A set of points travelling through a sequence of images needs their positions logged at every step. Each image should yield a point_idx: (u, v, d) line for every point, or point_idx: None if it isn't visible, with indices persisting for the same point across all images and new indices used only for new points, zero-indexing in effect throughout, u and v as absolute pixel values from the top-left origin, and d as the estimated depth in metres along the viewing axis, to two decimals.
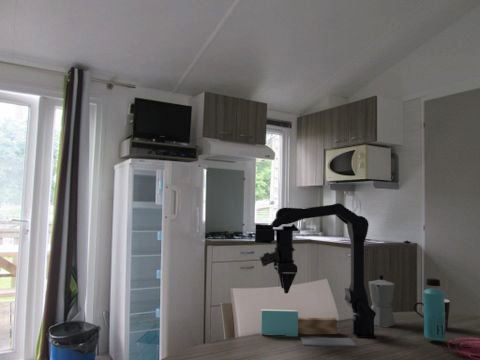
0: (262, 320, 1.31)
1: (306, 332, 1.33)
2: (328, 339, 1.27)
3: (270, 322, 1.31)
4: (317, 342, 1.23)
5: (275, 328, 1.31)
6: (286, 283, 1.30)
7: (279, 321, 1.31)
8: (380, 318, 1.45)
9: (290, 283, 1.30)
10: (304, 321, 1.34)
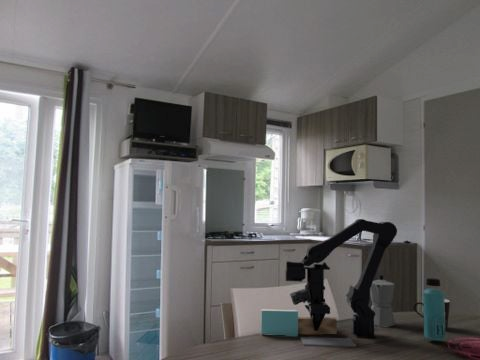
0: (262, 320, 1.31)
1: (306, 332, 1.33)
2: (328, 339, 1.27)
3: (270, 322, 1.31)
4: (317, 342, 1.23)
5: (275, 328, 1.31)
6: (316, 321, 1.33)
7: (279, 321, 1.31)
8: (380, 318, 1.45)
9: (320, 321, 1.32)
10: (304, 321, 1.34)
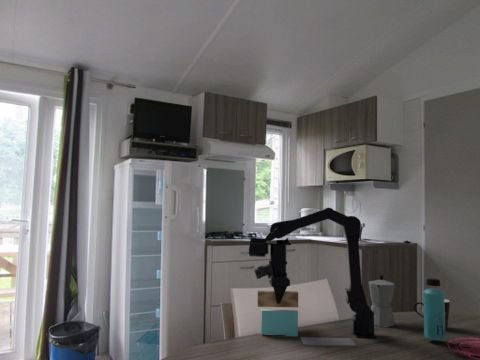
0: (262, 320, 1.31)
1: (268, 304, 1.38)
2: (328, 339, 1.27)
3: (270, 322, 1.31)
4: (317, 342, 1.23)
5: (275, 328, 1.31)
6: (278, 294, 1.37)
7: (279, 321, 1.31)
8: (380, 318, 1.45)
9: (282, 294, 1.37)
10: (266, 294, 1.39)
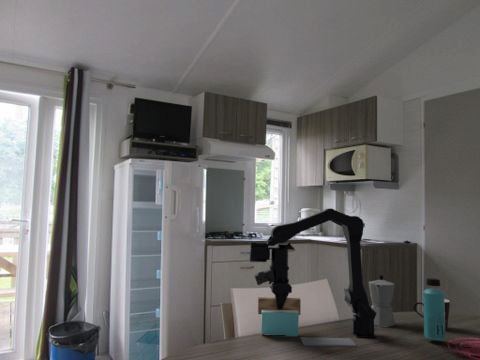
0: (262, 321, 1.30)
1: None
2: (328, 339, 1.27)
3: (270, 323, 1.30)
4: (317, 342, 1.23)
5: (275, 329, 1.30)
6: (279, 301, 1.31)
7: (279, 322, 1.30)
8: (380, 318, 1.45)
9: (283, 301, 1.31)
10: (267, 301, 1.33)
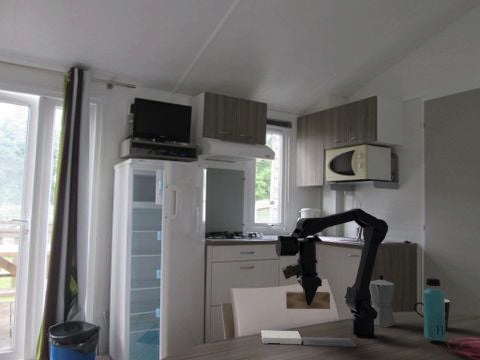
0: None
1: (298, 306, 1.29)
2: (328, 339, 1.27)
3: None
4: (317, 342, 1.23)
5: None
6: (309, 295, 1.28)
7: None
8: (380, 318, 1.45)
9: (313, 295, 1.28)
10: (295, 295, 1.30)
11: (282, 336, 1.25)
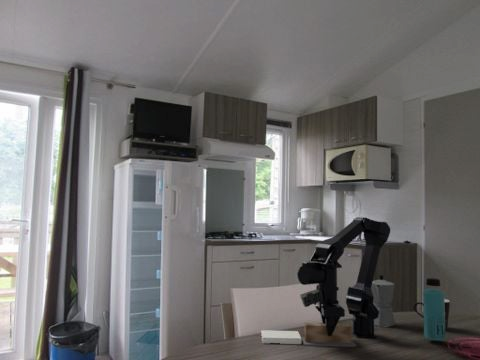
0: None
1: (317, 339, 1.24)
2: None
3: None
4: (317, 342, 1.23)
5: None
6: (330, 325, 1.22)
7: None
8: (380, 318, 1.45)
9: (334, 325, 1.21)
10: (315, 328, 1.24)
11: (281, 336, 1.25)
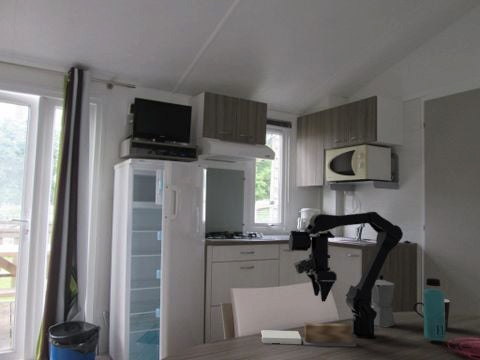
0: None
1: (317, 339, 1.24)
2: None
3: None
4: (317, 342, 1.23)
5: None
6: (324, 291, 1.28)
7: None
8: (380, 318, 1.45)
9: (328, 291, 1.28)
10: (315, 328, 1.24)
11: (281, 336, 1.25)
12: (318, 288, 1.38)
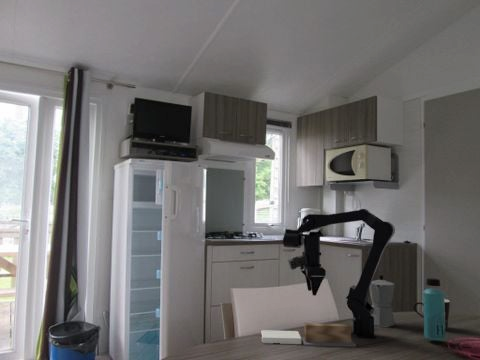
0: None
1: (317, 339, 1.24)
2: None
3: None
4: (317, 342, 1.23)
5: None
6: (314, 286, 1.37)
7: None
8: (380, 318, 1.45)
9: (318, 286, 1.37)
10: (315, 328, 1.24)
11: (281, 336, 1.25)
12: None
